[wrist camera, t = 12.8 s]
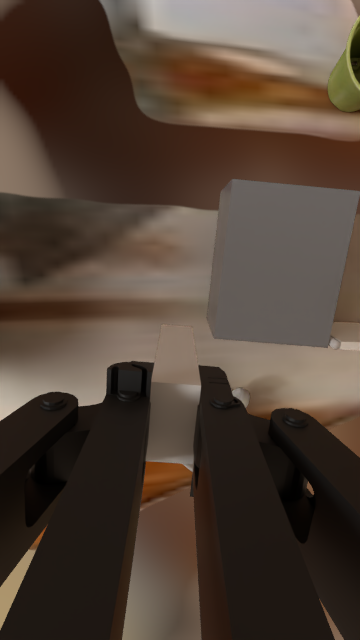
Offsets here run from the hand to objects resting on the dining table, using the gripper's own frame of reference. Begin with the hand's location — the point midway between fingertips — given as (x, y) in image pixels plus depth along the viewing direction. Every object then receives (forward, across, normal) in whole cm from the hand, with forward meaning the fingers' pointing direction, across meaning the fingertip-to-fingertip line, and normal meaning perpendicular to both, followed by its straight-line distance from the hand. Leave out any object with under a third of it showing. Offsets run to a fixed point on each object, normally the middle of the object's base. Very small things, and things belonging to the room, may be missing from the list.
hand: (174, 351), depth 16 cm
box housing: (+32, -12, -3) cm, 35 cm away
